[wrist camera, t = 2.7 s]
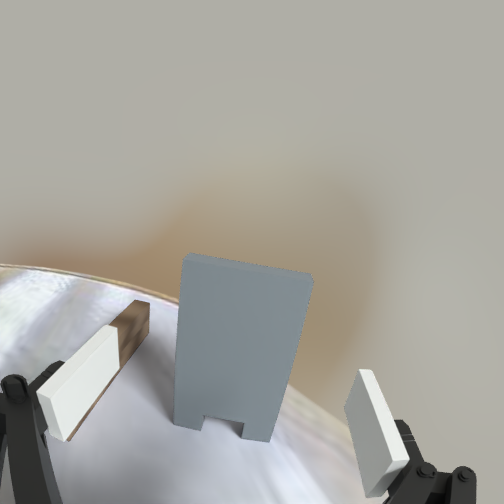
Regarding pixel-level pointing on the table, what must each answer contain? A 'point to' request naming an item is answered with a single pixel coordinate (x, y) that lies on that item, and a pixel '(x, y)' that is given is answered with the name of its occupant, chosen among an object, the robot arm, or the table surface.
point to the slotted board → (125, 340)
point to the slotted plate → (236, 341)
